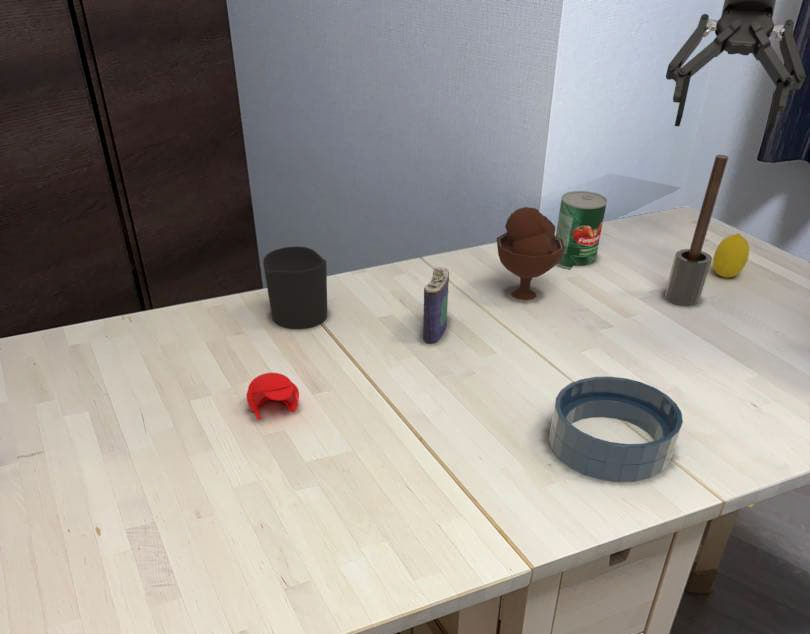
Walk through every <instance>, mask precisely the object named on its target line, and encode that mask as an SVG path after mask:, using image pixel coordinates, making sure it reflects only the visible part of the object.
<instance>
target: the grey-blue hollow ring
mask: <svg viewBox="0 0 810 634" xmlns="http://www.w3.org/2000/svg"><path fill="white" fill-rule="evenodd" d="M592 418H608V419H616V420H620V421H624V422H627V423H629V424H632V425H634V426H637V427H638V428H640V429H642V431H644V432H645V433H647V434H648V435H649V436H650V437H651V438H652V439H653V441H649V442H643V443H621V442H613V441H609V440H605V439H601V438H598V437H595V436H592V435H591V434H588V433H586V432H583V431H582V430H580V429H579V428H577V427H576V426H574V425H573V424H574V423H576V422H579V421H581V420H586V419H592ZM683 423H684V419H683V414H682V411H681V409H680V407H679V406H678V404H677V403H676V402H675V401H674V400H673V399H672V398H671V397H670V396H669V395H668V394H666V393H664V392H663V391H661V390H660V389H658V388H656V387H655V386H651V385H649V384H647V383H645V382H641V381H638V380H635V379H630V378H626V377H618V376H591V377H587V378H581V379H578V380H575V381H573V382H569V384H567V385H565V387H563V388H562V389H560V391H559V392H558V394H557V395H556V397H555V400H554V406H553V412H552V417H551V423H550V428H549V436H548V442H549V445H550V448H551V451H552V452H553V453H554V455H555V456H556V457H557V458H558V460H559V461H560V462H562V463H563V464H565V465H566V466H567V467H568V468H570V469H572V470H574V471H576V472H578V473H580V474H582V475H584V476H587V477H590V478H594V479H597V480H601V481H608V482H616V483H628V482H630V483H632V482H638V481H643V480H647V479H650V478H653V477H655V476H656V475H659V474H661V473H662V472H663V471H664V470H665V469H666V468H668V466H669V465H670V462H671V460H672V457H673V453H674V451H675V448H676V445H677V441H678V438H679V435H680V433H681V430H682V426H683Z"/></svg>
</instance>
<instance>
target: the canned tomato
mask: <svg viewBox="0 0 810 634" xmlns="http://www.w3.org/2000/svg"><path fill="white" fill-rule="evenodd" d="M560 199H561V200H560V206H559V213H558V219H557V226H556V230H555V236H556V237H558V238H560V239H562V240H563V243H564V247H565V250H564V252H563V255H562V258H561V259H560V261H559V262H558V264H557V265H556V266H557V267H559V268H562V269H566V270H572V269H573V267H584V266H589V265H592V264H593V263H595V262H596V260H597V255H598V250H599V244H600V239H601V235H602V234H601V233H602V231H603V230H602V229H603V225H604V219H605V214H606V209H607V204H608V199H607V198H606V196H604V195H602V194H600V193H598V192H593V191H587V190H574V191H568V192H566V193H564V194H562V195H561V198H560Z"/></svg>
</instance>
